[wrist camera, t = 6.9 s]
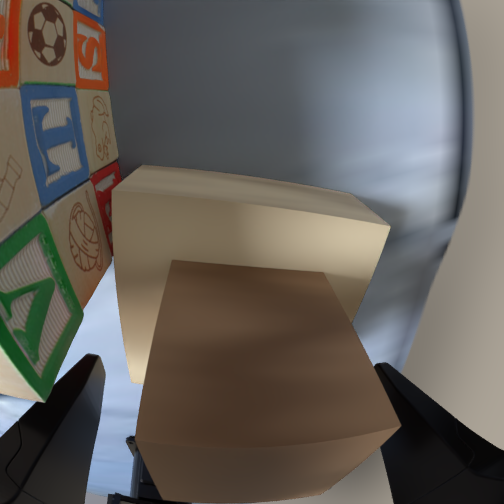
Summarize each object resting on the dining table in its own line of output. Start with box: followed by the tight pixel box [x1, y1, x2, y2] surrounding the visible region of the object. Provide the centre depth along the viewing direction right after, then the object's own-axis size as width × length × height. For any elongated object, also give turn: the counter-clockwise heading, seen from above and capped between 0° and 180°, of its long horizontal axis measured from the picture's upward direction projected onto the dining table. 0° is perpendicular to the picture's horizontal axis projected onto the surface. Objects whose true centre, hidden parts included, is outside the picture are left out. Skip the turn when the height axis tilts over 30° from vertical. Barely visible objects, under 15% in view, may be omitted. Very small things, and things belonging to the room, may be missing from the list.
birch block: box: [112, 165, 391, 384], centre depth 12 cm, size 9×9×4 cm
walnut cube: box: [135, 260, 401, 503], centre depth 8 cm, size 5×5×6 cm
